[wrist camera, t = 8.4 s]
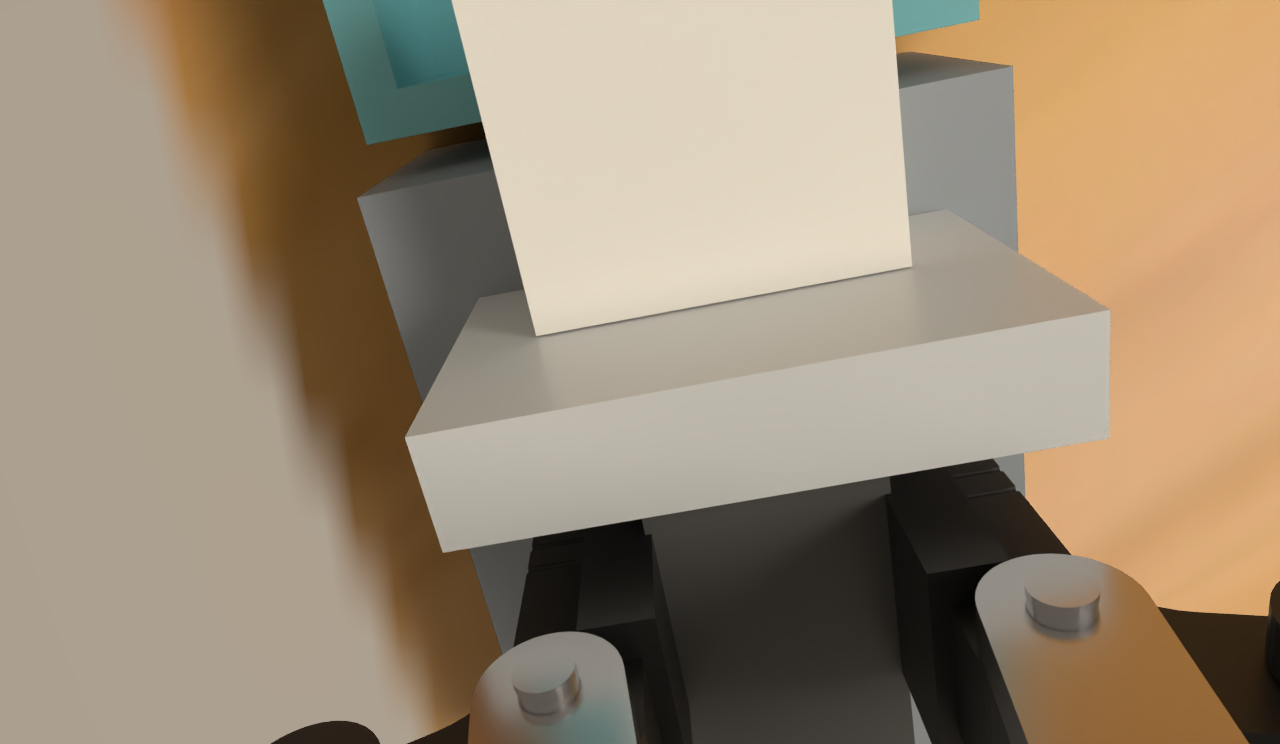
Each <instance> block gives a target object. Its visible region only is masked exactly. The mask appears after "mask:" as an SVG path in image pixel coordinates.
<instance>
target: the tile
mask: <svg viewBox="0 0 1280 744" xmlns="http://www.w3.org/2000/svg"><path fill="white" fill-rule="evenodd" d="M452 4H453V8H454V12H455V16H456V20H457V24H458V28H459V32H460V36H461V40H462V44H463V48H464V52H465V56H466V60H467V64H468V68H469V72H470V76H471V80H472V84H473V87H474V91H475V95H476V99H477V103H478V107H479V111H480V115H481V119H482V123H483V127H484V131H485V135H486V139H487V143H488V147H489V151H490V155H491V159H492V163H493V167H494V171H495V175H496V179H497V183H498V187H499V191H500V194H501V198H502V202H503V206H504V210H505V214H506V218H507V222H508V226H509V230H510V234H511V238H512V242H513V246H514V250H515V254H516V258H517V262H518V266H519V270H520V274H521V278H522V282H523V286H524V290H525V294H526V297H527V301H528V305H529V309H530V313H531V317H532V321H533V325H534V329H535V333H536V336H540V335H545V334H551V333H556V332H562V331H567V330H572V329H578V328H583V327H589V326H594V325H599V324H605V323H610V322H615V321H621V320H626V319H632V318H637V317H642V316H648V315H653V314H659V313H664V312H669V311H675V310H680V309H685V308H691V307H696V306H702V305H707V304H712V303H718V302H723V301H729V300H734V299H739V298H745V297H750V296H755V295H761V294H766V293H772V292H777V291H782V290H788V289H793V288H798V287H804V286H809V285H815V284H820V283H825V282H831V281H836V280H842V279H847V278H852V277H858V276H863V275H868V274H874V273H879V272H885V271H890V270H895V269H901V268H906V267H912V258H911V245H910V231H909V218H908V205H907V191H906V178H905V165H904V151H903V138H902V125H901V111H900V98H899V85H898V71H897V58H896V45H895V31H894V18H893V5H892V0H452Z"/></svg>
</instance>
